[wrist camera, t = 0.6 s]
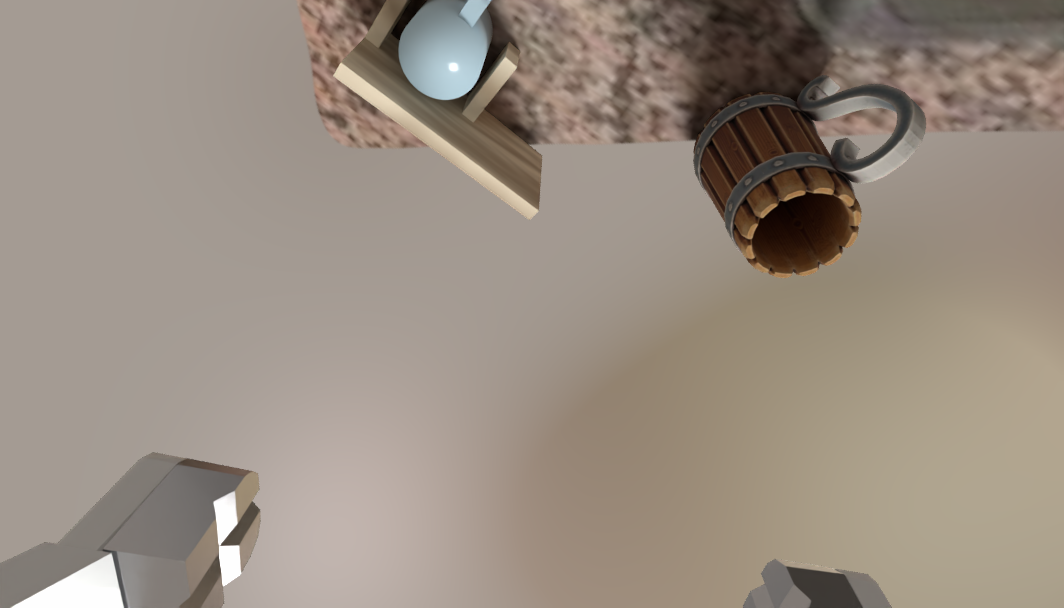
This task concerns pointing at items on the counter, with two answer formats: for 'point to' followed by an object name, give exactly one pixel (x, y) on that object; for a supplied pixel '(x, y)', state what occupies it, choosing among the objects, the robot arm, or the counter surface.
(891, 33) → the counter surface
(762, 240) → the mug
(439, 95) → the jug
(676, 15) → the counter surface
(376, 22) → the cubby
